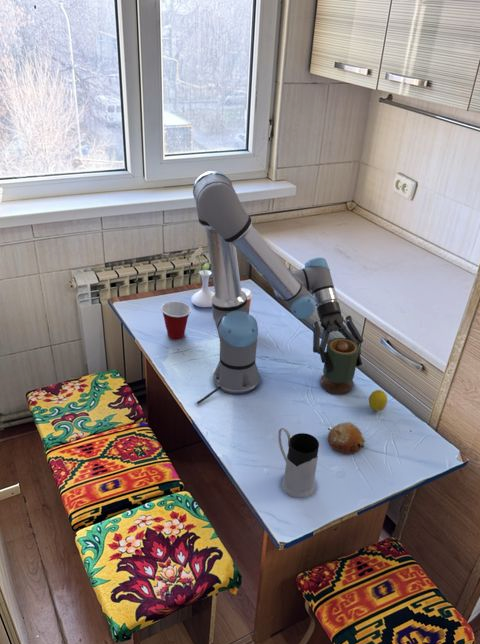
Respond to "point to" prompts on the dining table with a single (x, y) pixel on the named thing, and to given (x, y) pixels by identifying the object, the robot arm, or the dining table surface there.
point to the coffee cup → (248, 294)
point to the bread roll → (346, 438)
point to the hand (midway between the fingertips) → (344, 368)
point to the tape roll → (341, 361)
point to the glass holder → (300, 464)
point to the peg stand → (334, 386)
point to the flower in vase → (204, 295)
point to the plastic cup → (175, 318)
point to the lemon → (378, 400)
